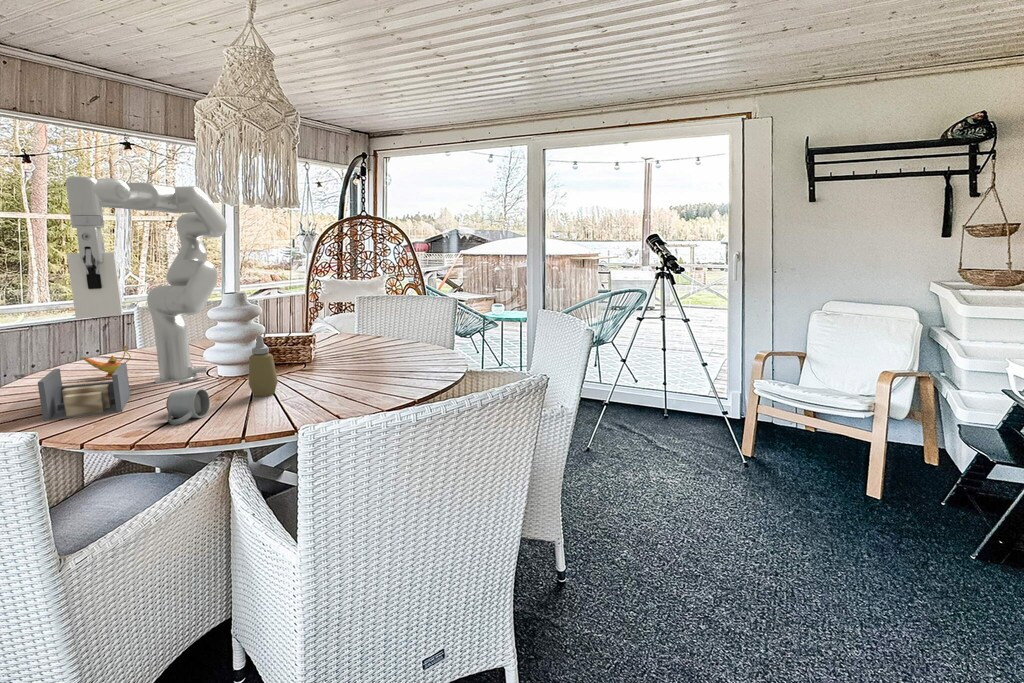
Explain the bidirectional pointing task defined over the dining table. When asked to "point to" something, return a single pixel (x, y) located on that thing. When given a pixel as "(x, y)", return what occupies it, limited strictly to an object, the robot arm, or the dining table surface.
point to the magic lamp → (108, 366)
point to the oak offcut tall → (90, 389)
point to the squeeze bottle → (262, 370)
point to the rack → (53, 386)
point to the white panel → (95, 299)
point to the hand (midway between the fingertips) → (96, 287)
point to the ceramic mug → (187, 405)
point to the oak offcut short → (84, 403)
